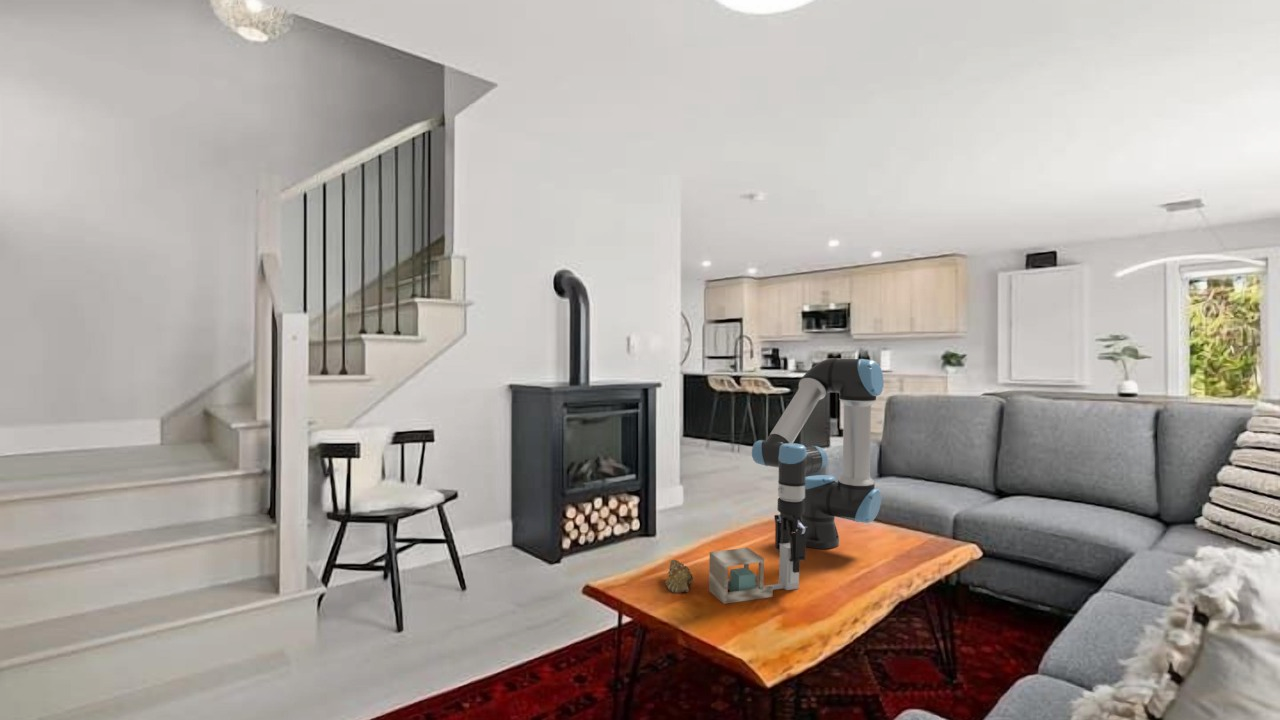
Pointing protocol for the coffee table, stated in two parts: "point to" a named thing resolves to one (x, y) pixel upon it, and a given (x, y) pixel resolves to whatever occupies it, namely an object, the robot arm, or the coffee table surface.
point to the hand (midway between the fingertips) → (788, 579)
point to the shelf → (722, 583)
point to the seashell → (678, 577)
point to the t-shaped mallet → (746, 578)
